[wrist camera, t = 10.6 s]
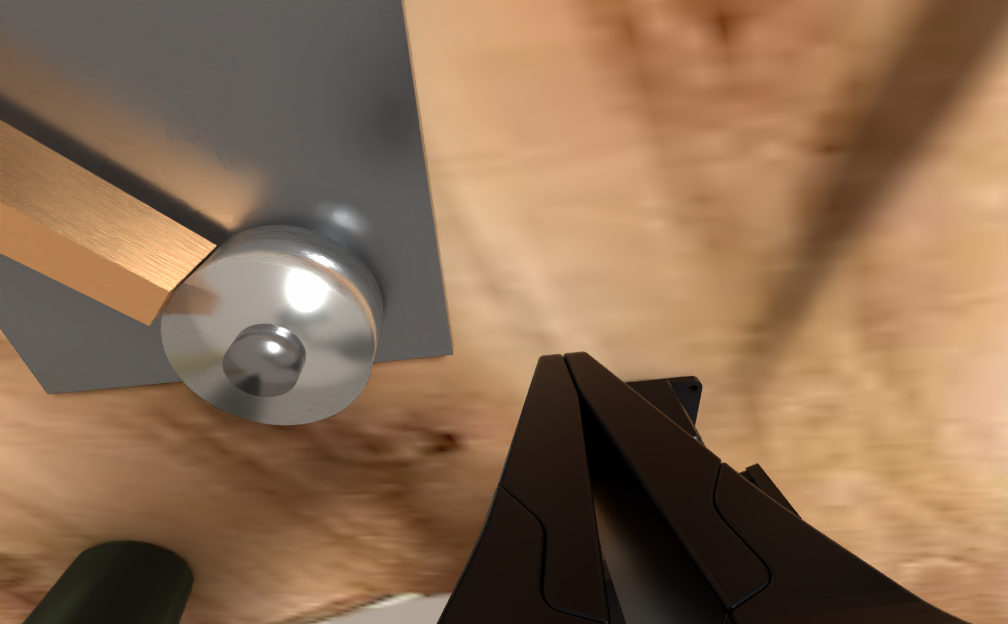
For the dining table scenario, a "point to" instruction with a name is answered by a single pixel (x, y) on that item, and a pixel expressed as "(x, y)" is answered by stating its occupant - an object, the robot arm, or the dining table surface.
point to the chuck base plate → (223, 154)
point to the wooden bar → (201, 288)
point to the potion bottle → (118, 587)
